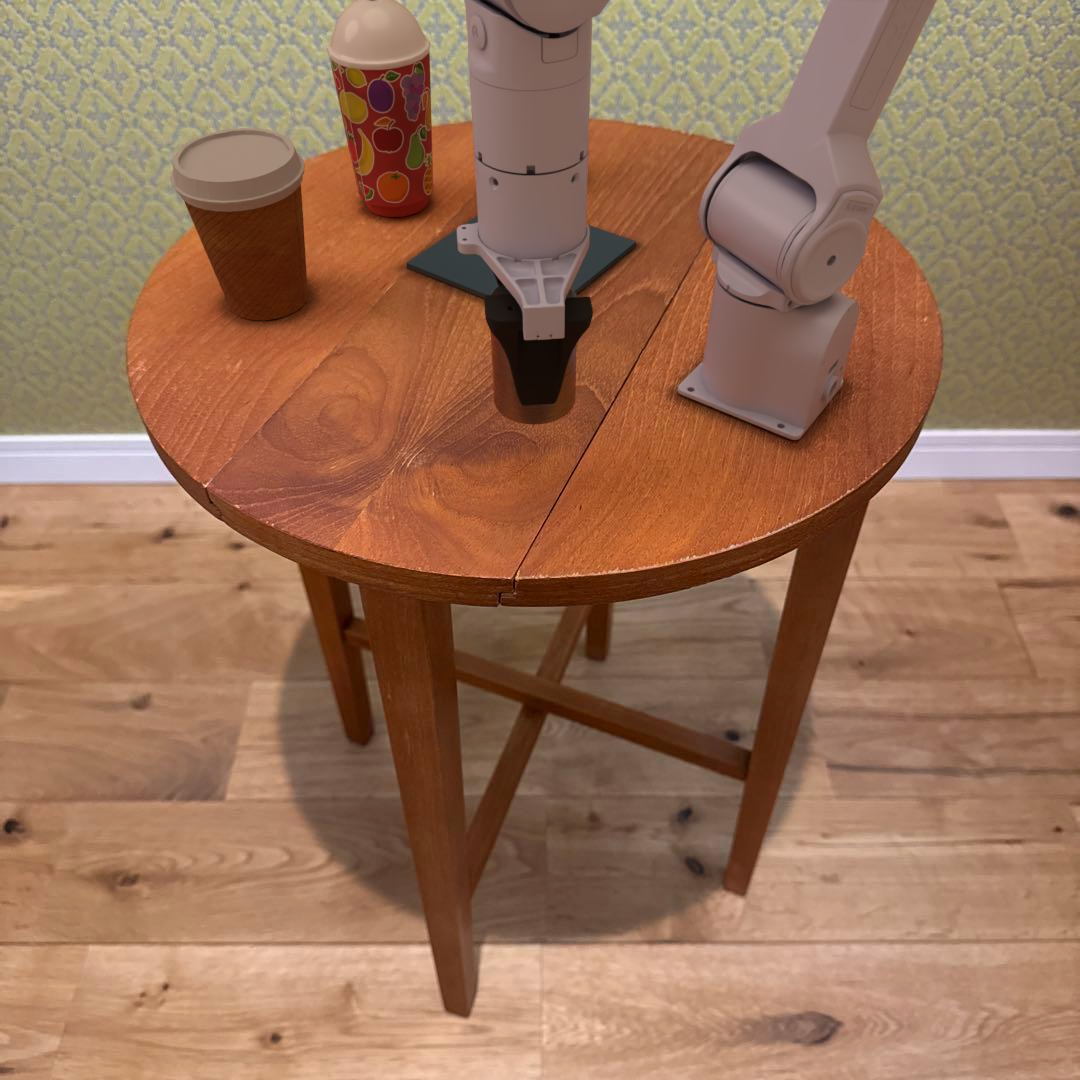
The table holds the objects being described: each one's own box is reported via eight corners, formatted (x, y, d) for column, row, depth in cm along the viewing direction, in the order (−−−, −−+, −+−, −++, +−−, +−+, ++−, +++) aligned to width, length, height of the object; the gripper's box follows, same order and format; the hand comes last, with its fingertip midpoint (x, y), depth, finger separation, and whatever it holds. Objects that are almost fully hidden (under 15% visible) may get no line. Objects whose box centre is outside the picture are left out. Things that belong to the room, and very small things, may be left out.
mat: (636, 246, 84) (636, 241, 83) (542, 322, 76) (542, 316, 75) (506, 201, 89) (506, 196, 89) (406, 267, 81) (406, 262, 81)
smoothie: (393, 173, 93) (365, -64, 79) (461, 197, 90) (444, -46, 75) (332, 208, 88) (290, -37, 74) (401, 235, 85) (371, -17, 71)
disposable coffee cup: (184, 301, 78) (139, 155, 69) (281, 255, 83) (250, 114, 74) (255, 348, 74) (216, 199, 65) (352, 297, 78) (328, 151, 70)
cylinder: (591, 392, 60) (594, 293, 55) (544, 435, 57) (544, 335, 52) (525, 364, 62) (523, 267, 57) (477, 405, 59) (470, 306, 54)
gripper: (447, 92, 53) (463, 307, 63) (454, 226, 43) (471, 455, 53) (576, 87, 53) (572, 301, 63) (611, 218, 43) (600, 447, 53)
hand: (534, 371), depth 58 cm, fingers closed on cylinder, 5 cm apart
